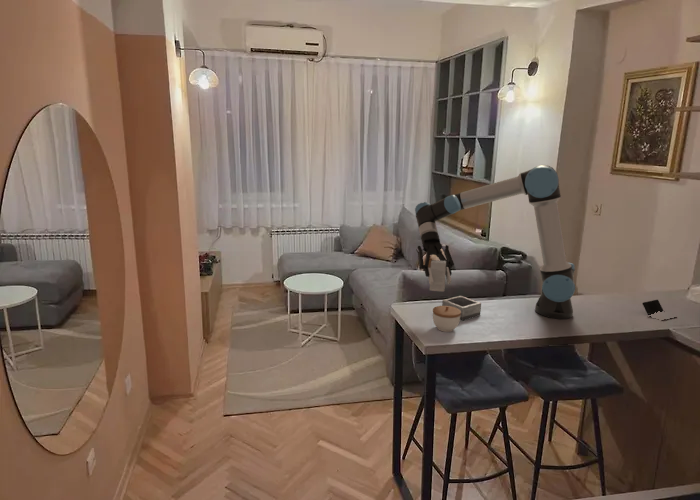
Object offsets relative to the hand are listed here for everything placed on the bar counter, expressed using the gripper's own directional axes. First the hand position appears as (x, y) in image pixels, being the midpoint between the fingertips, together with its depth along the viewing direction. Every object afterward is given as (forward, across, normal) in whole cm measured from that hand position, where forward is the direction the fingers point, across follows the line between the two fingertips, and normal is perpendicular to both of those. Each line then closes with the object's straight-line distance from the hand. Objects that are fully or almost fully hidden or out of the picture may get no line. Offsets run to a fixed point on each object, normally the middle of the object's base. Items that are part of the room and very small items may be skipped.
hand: (440, 282), depth 188 cm
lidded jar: (+18, 0, -6) cm, 18 cm away
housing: (+7, -13, -16) cm, 22 cm away
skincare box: (+1, 0, -6) cm, 6 cm away
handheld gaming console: (+16, -99, -8) cm, 101 cm away
